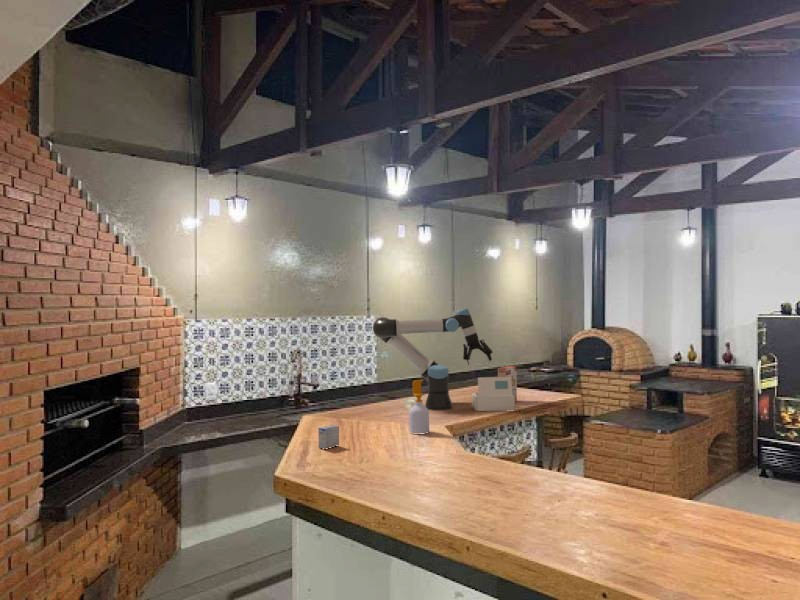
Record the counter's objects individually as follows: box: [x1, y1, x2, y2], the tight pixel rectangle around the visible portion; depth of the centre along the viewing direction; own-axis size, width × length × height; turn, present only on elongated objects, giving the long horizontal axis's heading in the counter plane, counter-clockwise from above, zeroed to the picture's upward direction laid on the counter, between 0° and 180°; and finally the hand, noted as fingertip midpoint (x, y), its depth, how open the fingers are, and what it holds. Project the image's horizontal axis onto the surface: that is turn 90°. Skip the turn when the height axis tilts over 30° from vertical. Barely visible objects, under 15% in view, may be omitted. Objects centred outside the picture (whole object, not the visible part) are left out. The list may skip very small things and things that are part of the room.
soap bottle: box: [408, 379, 430, 433], centre depth 266 cm, size 9×9×25 cm
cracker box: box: [497, 365, 518, 402], centre depth 342 cm, size 14×6×21 cm, turn 143°
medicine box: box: [317, 424, 340, 449], centre depth 242 cm, size 8×4×9 cm, turn 141°
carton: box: [471, 391, 516, 412], centre depth 323 cm, size 21×17×8 cm
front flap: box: [477, 376, 513, 396], centre depth 316 cm, size 18×10×1 cm
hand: (482, 367), depth 343 cm, fingers open, 13 cm apart
